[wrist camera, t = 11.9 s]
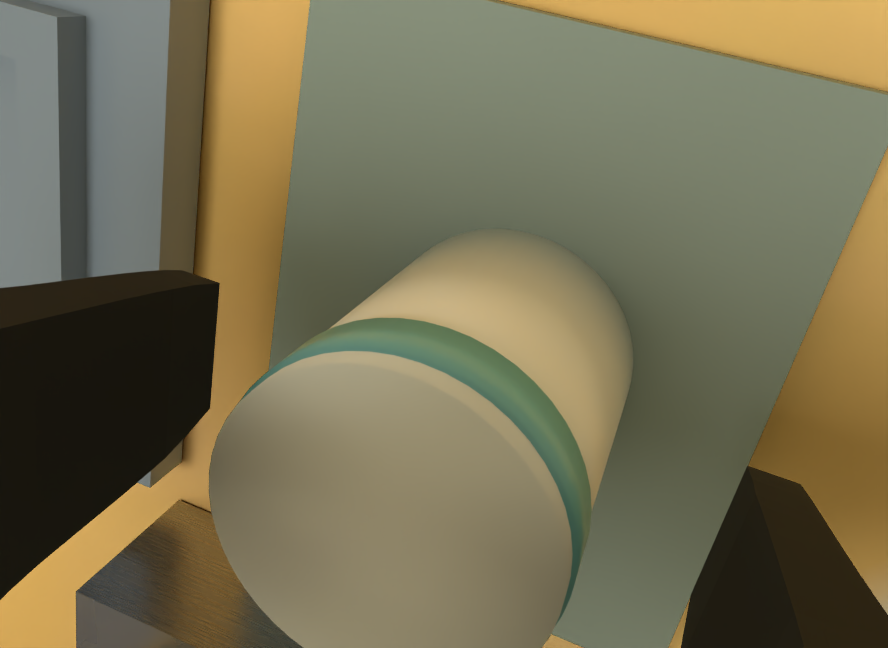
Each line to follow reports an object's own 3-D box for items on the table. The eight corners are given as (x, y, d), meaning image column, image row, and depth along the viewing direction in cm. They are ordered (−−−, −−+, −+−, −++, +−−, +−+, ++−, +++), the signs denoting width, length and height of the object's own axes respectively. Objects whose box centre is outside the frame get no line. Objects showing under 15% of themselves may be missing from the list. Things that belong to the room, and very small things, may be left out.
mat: (657, 656, 14) (654, 677, 14) (266, 496, 16) (252, 510, 16) (901, 95, 10) (907, 100, 10) (330, -40, 12) (314, -40, 12)
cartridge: (593, 501, 13) (517, 753, 9) (366, 417, 14) (194, 607, 10) (672, 272, 11) (625, 447, 7) (407, 193, 12) (218, 303, 8)
